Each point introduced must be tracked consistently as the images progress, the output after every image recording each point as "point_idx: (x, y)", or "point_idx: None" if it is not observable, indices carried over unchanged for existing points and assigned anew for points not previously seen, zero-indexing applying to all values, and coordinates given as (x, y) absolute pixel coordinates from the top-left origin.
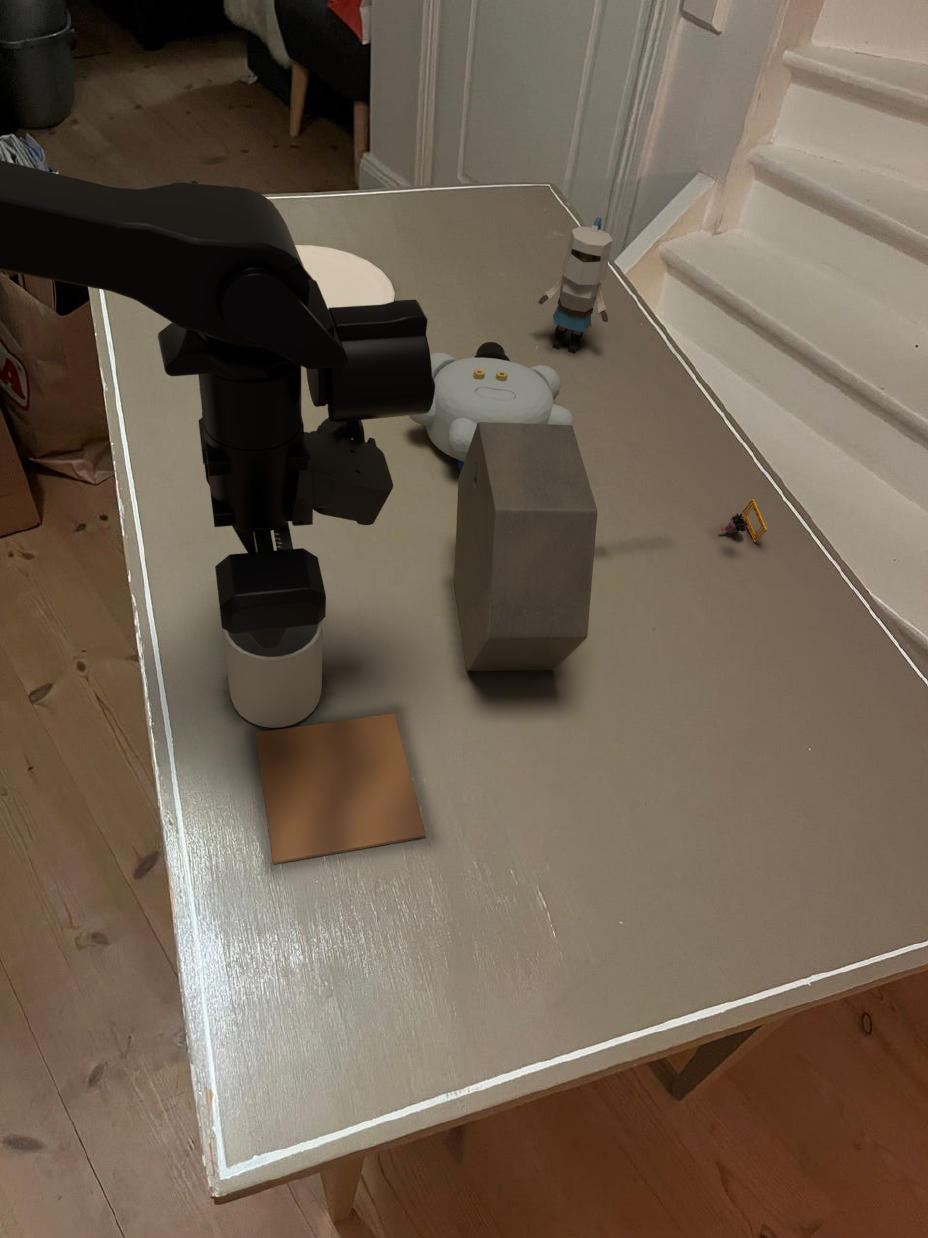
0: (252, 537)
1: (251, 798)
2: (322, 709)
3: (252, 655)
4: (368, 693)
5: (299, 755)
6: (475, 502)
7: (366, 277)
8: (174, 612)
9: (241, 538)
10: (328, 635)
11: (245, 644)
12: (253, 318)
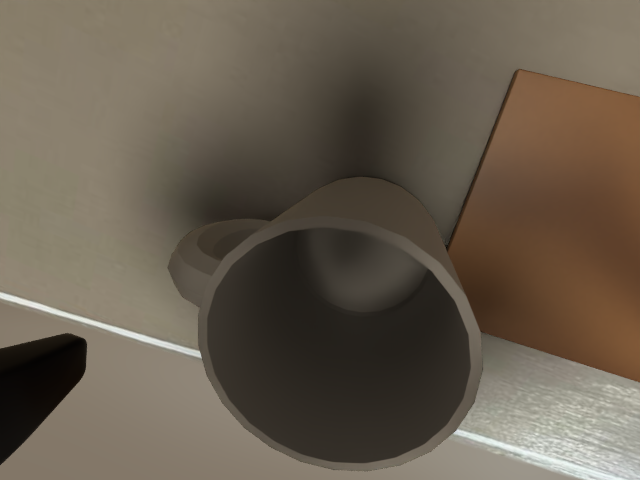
0: (8, 416)
1: (527, 361)
2: (427, 194)
3: (422, 452)
4: (436, 98)
5: (505, 275)
6: None
7: None
8: (161, 315)
9: (10, 449)
10: (277, 113)
11: (280, 299)
12: None
